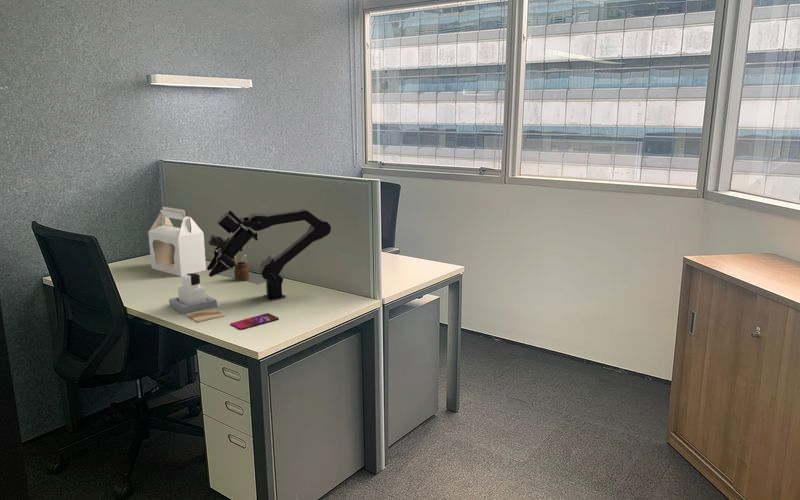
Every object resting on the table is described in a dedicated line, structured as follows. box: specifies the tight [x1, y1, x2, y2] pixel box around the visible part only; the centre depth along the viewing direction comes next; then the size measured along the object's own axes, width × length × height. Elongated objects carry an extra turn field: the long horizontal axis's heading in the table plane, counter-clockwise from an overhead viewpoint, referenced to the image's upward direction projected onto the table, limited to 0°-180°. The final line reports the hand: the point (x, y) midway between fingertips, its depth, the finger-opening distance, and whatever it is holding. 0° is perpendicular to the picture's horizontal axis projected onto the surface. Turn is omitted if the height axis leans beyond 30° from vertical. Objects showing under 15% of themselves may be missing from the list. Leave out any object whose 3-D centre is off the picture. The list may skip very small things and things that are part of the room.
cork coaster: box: [185, 307, 226, 323], centre depth 208 cm, size 10×10×1 cm
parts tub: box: [168, 294, 218, 315], centre depth 218 cm, size 13×13×2 cm
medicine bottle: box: [177, 273, 207, 305], centre depth 217 cm, size 7×7×12 cm
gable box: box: [147, 206, 207, 277], centre depth 265 cm, size 22×13×28 cm, turn 55°
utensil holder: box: [233, 254, 250, 282], centre depth 252 cm, size 6×6×12 cm
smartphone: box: [230, 312, 280, 331], centre depth 202 cm, size 8×1×15 cm
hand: (208, 272), depth 218 cm, fingers open, 9 cm apart
